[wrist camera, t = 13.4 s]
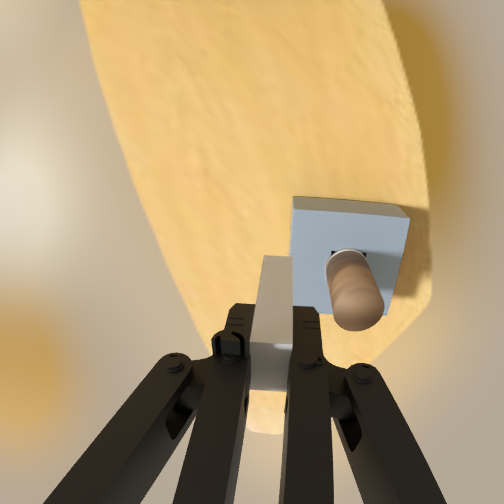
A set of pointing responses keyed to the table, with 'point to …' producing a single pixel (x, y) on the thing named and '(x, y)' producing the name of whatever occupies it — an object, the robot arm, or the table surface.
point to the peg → (353, 290)
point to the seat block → (344, 244)
